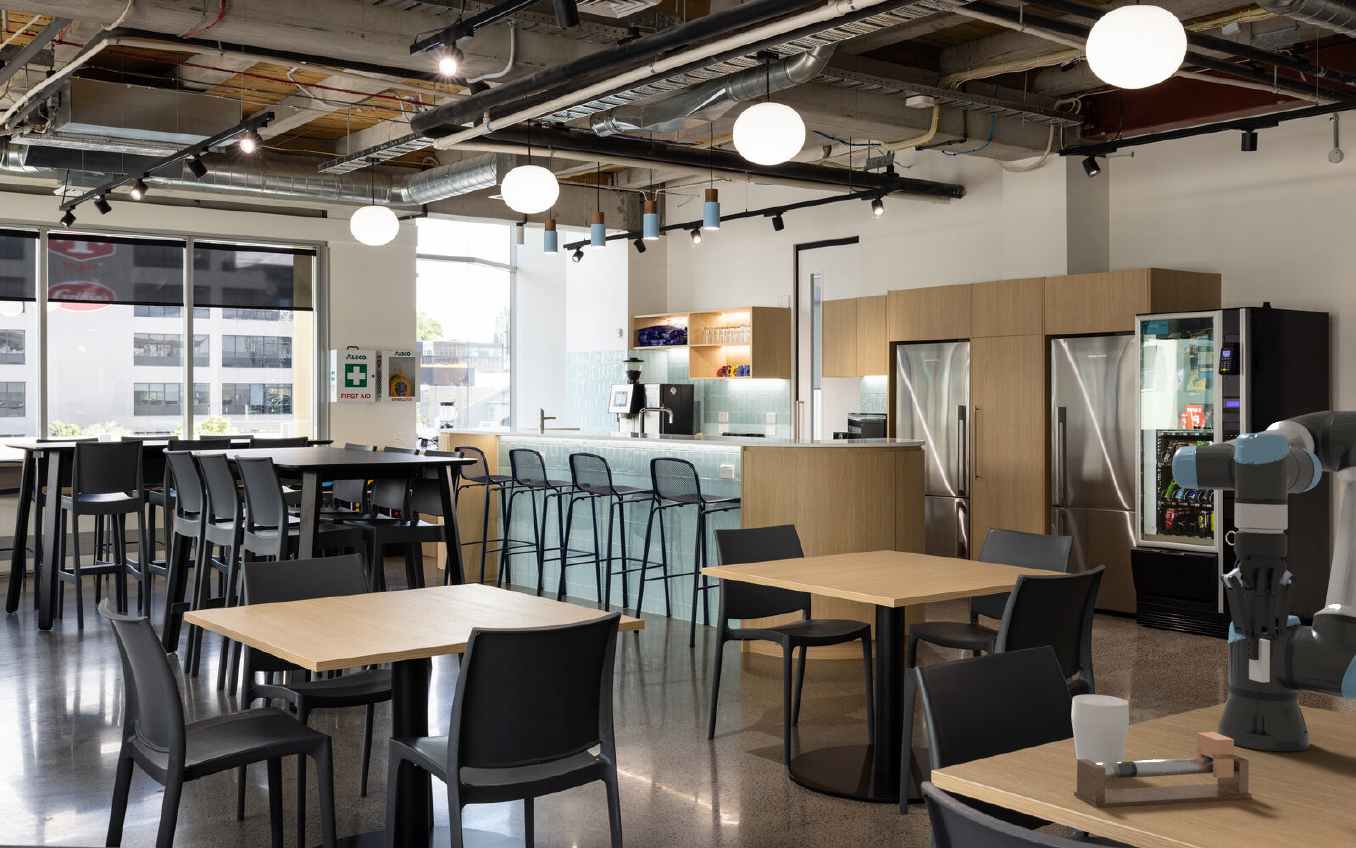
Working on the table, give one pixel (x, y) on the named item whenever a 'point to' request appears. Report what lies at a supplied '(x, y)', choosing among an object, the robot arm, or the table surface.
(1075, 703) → the cup
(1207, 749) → the tan block
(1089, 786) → the wooden rod stand
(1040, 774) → the table surface
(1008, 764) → the table surface
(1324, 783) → the table surface
